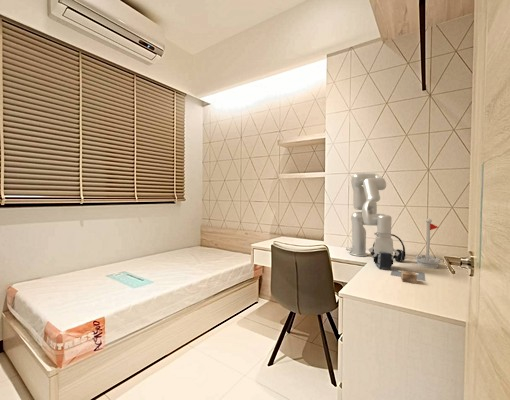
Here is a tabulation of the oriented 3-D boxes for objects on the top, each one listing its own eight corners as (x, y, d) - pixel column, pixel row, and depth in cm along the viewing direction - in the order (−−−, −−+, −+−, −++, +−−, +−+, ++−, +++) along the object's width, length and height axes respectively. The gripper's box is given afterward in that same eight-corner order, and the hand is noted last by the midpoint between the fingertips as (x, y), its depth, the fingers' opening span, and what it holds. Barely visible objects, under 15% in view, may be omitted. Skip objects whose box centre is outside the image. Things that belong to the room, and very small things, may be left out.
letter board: (390, 276, 138) (390, 275, 138) (392, 269, 151) (392, 267, 151) (425, 282, 129) (425, 281, 129) (424, 273, 143) (424, 272, 143)
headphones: (374, 261, 168) (374, 234, 168) (371, 258, 175) (371, 232, 175) (406, 263, 165) (407, 235, 165) (401, 260, 172) (402, 233, 171)
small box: (391, 271, 146) (392, 253, 146) (379, 270, 148) (380, 252, 147) (386, 266, 157) (386, 249, 156) (375, 265, 158) (375, 249, 158)
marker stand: (415, 266, 158) (416, 218, 157) (415, 261, 169) (416, 217, 168) (440, 269, 151) (442, 220, 150) (439, 264, 162) (441, 218, 161)
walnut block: (402, 283, 127) (402, 273, 127) (401, 279, 133) (401, 270, 133) (416, 285, 125) (416, 275, 125) (414, 281, 130) (414, 271, 130)
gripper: (367, 234, 153) (366, 263, 153) (400, 237, 144) (399, 268, 144) (369, 233, 159) (368, 260, 160) (400, 236, 150) (400, 265, 150)
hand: (383, 264), depth 152 cm, fingers closed on small box, 7 cm apart
